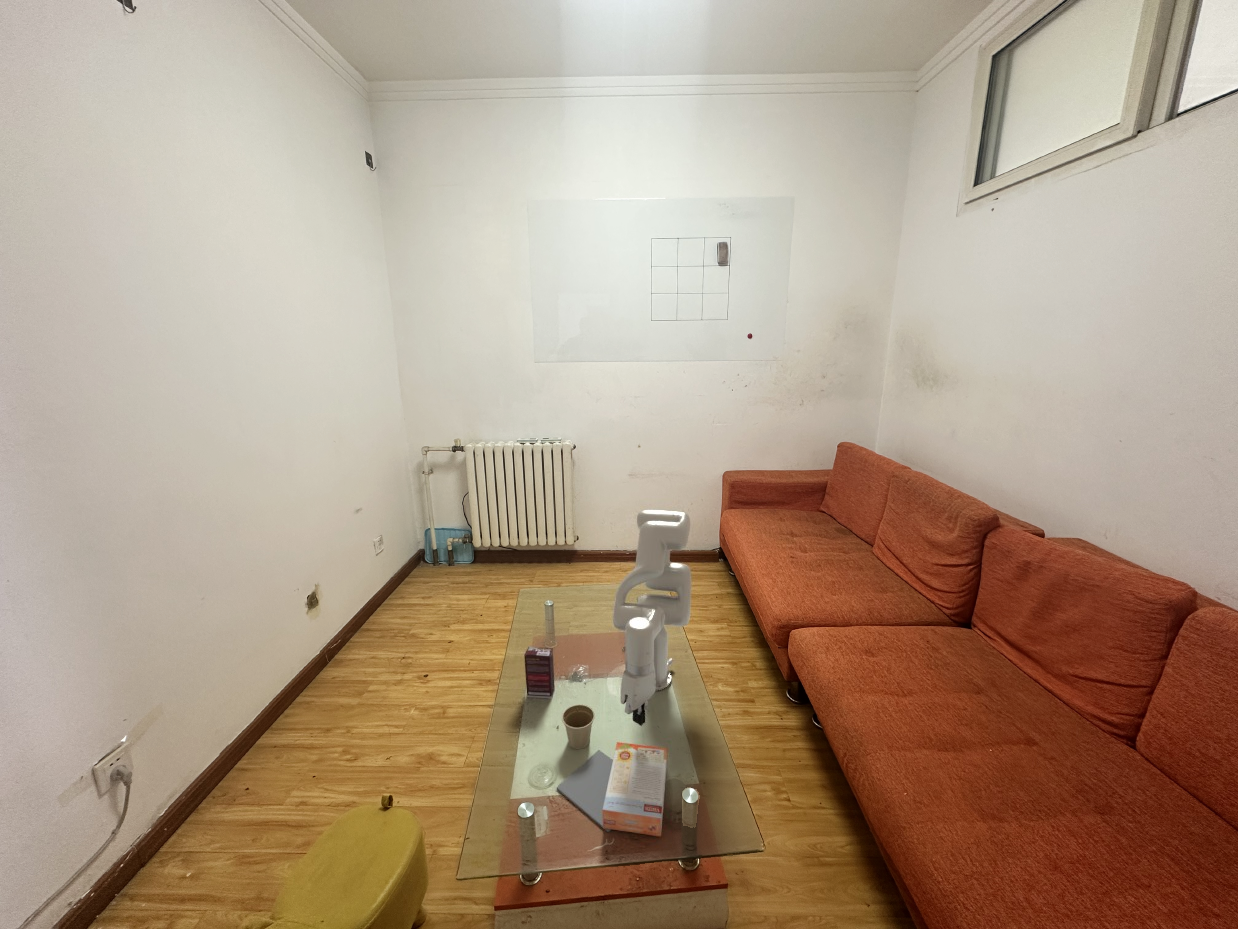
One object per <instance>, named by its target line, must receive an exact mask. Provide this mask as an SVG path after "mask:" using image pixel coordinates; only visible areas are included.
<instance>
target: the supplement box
mask: <svg viewBox="0 0 1238 929" xmlns="http://www.w3.org/2000/svg"><path fill="white" fill-rule="evenodd" d="M553 649H554V648H553V647H539V646H527V648H526V650H525V652H524V654H523V655H524V656H523V657H524V672H525V684H526V686H525V689H526V697H527V698H532V699H534V698H536V699H553V697H554V692H555V689H556V688H555V668H554V665H555V664H554V650H553Z"/></svg>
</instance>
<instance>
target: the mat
mask: <svg viewBox="0 0 1238 929" xmlns="http://www.w3.org/2000/svg"><path fill="white" fill-rule="evenodd" d="M612 763H613V758H611V757H609V756H608V755H607V754H605V753H604V752H603V751H601V750H600V749H598V750H596V752H594V753H593V754H592V755H591V756H590V757H588V759H586V760H585V761H584V762H583V763H582V764H581V765H580V766H579V767H578V768H577V769H576V770H574V771H573V772H572V773H571V774H570V775H569V776H567V778H565V779H564V780H563V781H562V782H561V783H560V784H558V785H557V787H556V790H557V791H558V792H559V793H561V794H562V795H563V796H564V797H565V798H567V799H568V800H569V801H570V802H571V803H573V804H574V805H575V806H576V807H577V808H579V810H581V811H582V812H583V813H585V814H586V815H587V816H588V817H589V818H590V819H591V820H592V821H594V822H595V823H596V824H598V826H600V827H601V828H602V829H604V831H606V832H607V833H610V832H611V830H612V829H607V828H603V811H602V809H603V805H604V800H605V796H606V791H607V786H608V782H609V777H610V772H611V768H612Z"/></svg>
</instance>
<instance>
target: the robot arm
mask: <svg viewBox="0 0 1238 929" xmlns="http://www.w3.org/2000/svg"><path fill="white" fill-rule="evenodd" d="M636 516H637V517H636V524H637V529H638V531H639V533H638V534H639V535H638V542H637V549H636V555H635V556H636V558H635V565H634V568H633V569H632V570H631V571H630V572H629V573H627V575H626V576H624V577H623V579H622V580H621V582H620V584H619V585H618V587H617V589H616V592H615V599H614V603H613V604H614V605H613V609H612V610H613V611H612V624H613V626H614V628H616V629H617V630H618V631H623V632H624V633H625V636H624V639H625V641H624V642H625V643H624V644H625V650H624V651H625V652H624V653H625V656H624V658H625V661H624V662H625V664H624V665H625V670H624V671H623V672H622V673H623V674H622V677H621V683H620V685H621V687H620V704H622V705H624V704H625V706H624V713H626V714H627V715H631V714H632V721H633V722H634V723H636V724H637V725H639V726H641V727H642V726H643V725H644V724H646V710H647V709H648V702H649V699H651V698H652V697H653V695H654V694H655V692H658V690H659V691H662V689H663V690H664V688H665V687H667V686H668V685H669V684H670V685H671V683H670V682H672V675H670V674H671V672H670V671H669V668H670V666H672V664H674V659H673V658H672V657H670V658H668V650H669V641H668V639H669V634H668V630H667V628H666V626H671V627H685V626H687V625H688V624H689V622H690V618H691V609H692V608H691V604H692V603H691V602H692V570H691V569H690V566H689V565H688V564H685V563H681V562H673V561H672V562H671V560H670V558H671V551H683V550H684V549H685V548H686V547H687V544H688V541H689V535H690V529H691V519H690V516H689V514H688V513H687V512H684V511H674V510H665V509H663V510H661V509H660V510H659V509H644V510H641V511H639V512H638V513H637V515H636ZM641 584H644V585H643V586H645V588H646V589H649V590H652V591H661V592H672V593H675V594H676V595H668V594H659V593H646V594H643V595H642V596H640V597H639V599H638V600H637V603H633V602H626V599H627V596H628V594H629V592H630V591H631V590H633V589H634V587H635V588H636V586H639V585H641ZM668 678H670V679H668ZM670 685H669V686H670ZM669 686H668V687H669ZM668 687H667V688H668ZM665 689H666V688H665Z"/></svg>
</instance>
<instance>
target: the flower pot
mask: <svg viewBox="0 0 1238 929" xmlns="http://www.w3.org/2000/svg"><path fill="white" fill-rule="evenodd" d="M561 714H562V715H561V721H562V723H563V725H564V727H565V731H566V736H567V741H568V744H569V746H570V747H571V748H572V749H576V750H580V749H584V748H585V747H587V746H589V744H590V741H591V732H592V726H593V722H594V720H595V717H596V715H595V711H594V709H593V708H591V707H590V706H588V705H586V704H574V705H571V706H569V707H567V708H566V709H565V710H564V711H563V713H561Z"/></svg>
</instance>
